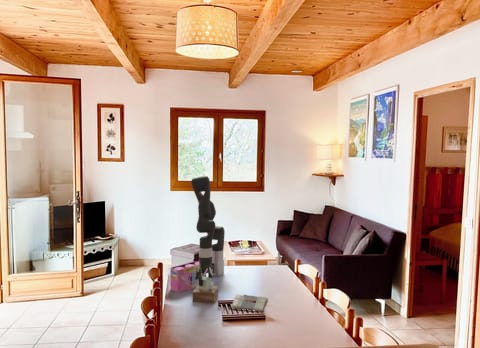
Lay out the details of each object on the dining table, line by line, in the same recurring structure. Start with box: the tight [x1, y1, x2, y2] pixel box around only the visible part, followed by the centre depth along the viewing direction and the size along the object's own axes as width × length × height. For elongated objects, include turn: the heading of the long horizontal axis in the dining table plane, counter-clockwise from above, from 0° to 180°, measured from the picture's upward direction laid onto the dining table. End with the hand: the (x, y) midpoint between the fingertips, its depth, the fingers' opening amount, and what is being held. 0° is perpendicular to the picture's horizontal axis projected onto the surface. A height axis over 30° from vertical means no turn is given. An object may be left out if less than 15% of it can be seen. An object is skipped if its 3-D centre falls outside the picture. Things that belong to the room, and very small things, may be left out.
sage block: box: [199, 276, 213, 291], centre depth 210 cm, size 5×5×6 cm
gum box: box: [170, 260, 207, 293], centre depth 230 cm, size 24×8×14 cm, turn 137°
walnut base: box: [191, 285, 219, 305], centre depth 210 cm, size 12×12×6 cm
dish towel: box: [230, 294, 269, 313], centre depth 203 cm, size 19×18×3 cm
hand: (205, 283), depth 210 cm, fingers open, 8 cm apart
